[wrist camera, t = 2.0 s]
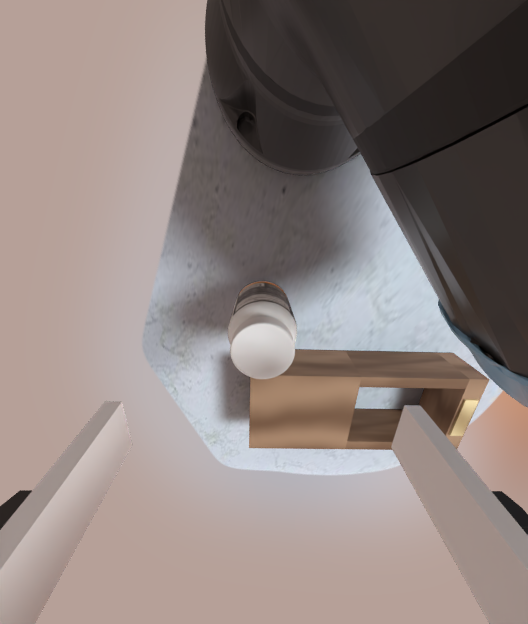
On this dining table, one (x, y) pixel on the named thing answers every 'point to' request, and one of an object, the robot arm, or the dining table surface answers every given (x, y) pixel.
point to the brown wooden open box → (343, 393)
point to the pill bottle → (262, 331)
